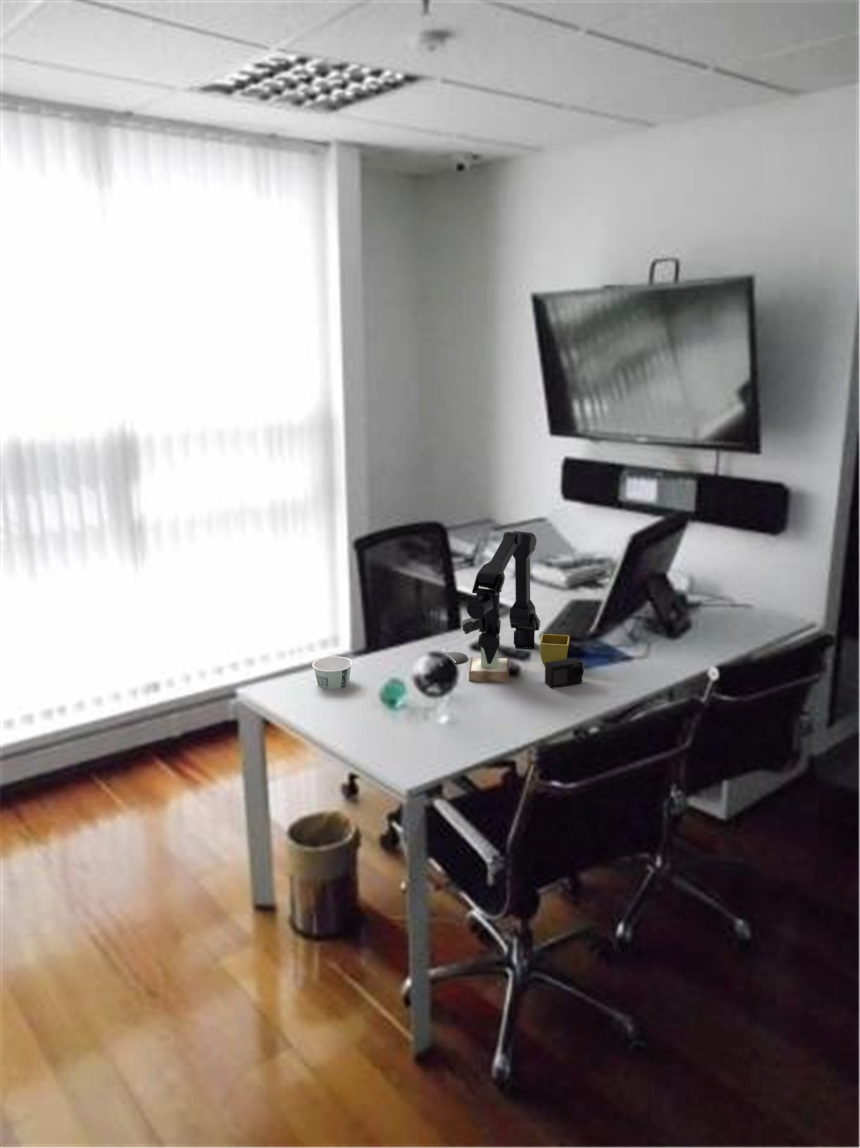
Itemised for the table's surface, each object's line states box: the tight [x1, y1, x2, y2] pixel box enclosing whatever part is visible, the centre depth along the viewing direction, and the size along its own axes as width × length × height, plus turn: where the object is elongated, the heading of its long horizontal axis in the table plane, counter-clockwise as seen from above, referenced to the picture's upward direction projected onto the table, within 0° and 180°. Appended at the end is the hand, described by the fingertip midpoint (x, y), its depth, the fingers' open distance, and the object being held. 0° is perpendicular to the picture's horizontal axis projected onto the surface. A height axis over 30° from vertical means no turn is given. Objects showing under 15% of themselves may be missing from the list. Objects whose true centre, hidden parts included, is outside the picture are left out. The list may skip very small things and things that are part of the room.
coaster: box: [444, 651, 468, 665], centre depth 283 cm, size 9×9×1 cm
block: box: [480, 647, 499, 668], centre depth 269 cm, size 5×5×6 cm
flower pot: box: [539, 633, 571, 667], centre depth 275 cm, size 9×9×9 cm
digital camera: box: [544, 657, 585, 689], centre depth 261 cm, size 10×5×7 cm, turn 109°
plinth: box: [468, 656, 510, 683], centre depth 270 cm, size 12×12×3 cm
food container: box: [311, 655, 353, 690], centre depth 264 cm, size 12×12×6 cm
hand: (489, 658), depth 269 cm, fingers open, 9 cm apart
